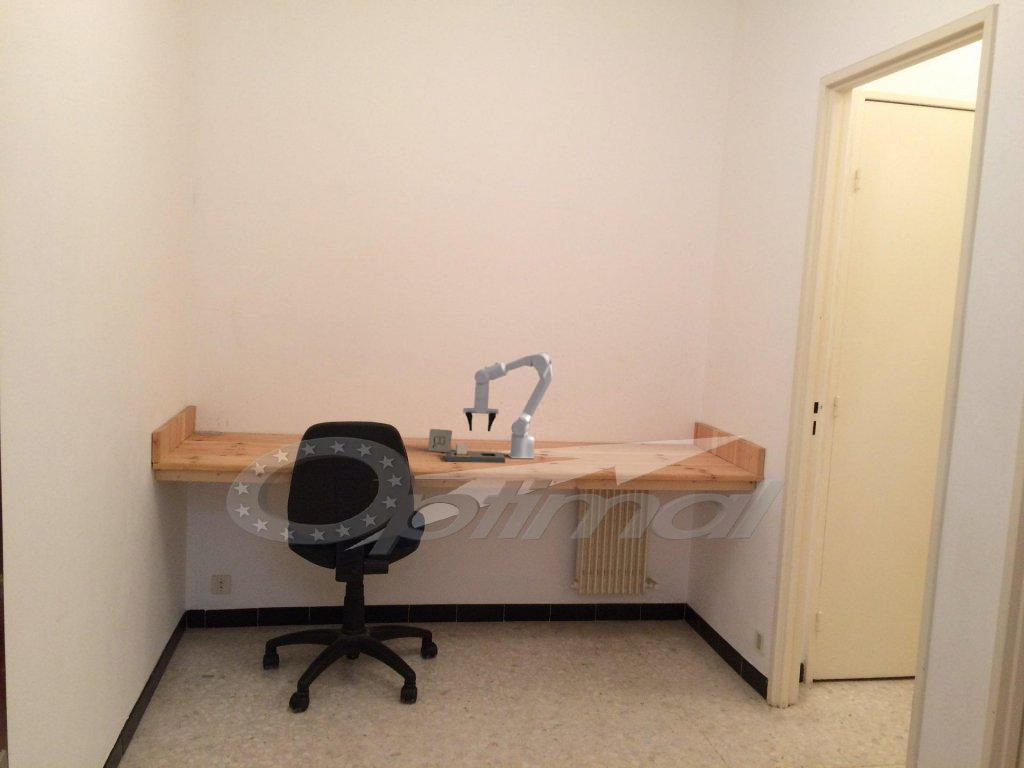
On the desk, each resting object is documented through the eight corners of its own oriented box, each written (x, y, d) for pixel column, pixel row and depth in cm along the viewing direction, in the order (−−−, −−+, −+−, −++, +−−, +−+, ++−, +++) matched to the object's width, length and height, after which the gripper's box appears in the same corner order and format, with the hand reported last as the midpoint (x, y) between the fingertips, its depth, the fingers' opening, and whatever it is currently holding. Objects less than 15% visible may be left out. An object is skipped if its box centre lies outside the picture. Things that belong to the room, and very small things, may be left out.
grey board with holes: (500, 457, 322) (501, 452, 322) (504, 462, 313) (505, 457, 312) (444, 456, 318) (444, 450, 318) (447, 461, 308) (447, 456, 308)
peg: (465, 458, 317) (465, 443, 316) (466, 460, 313) (467, 445, 312) (455, 458, 316) (456, 443, 315) (456, 460, 312) (457, 445, 311)
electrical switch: (427, 451, 326) (429, 429, 326) (429, 450, 331) (431, 428, 331) (449, 453, 325) (451, 430, 325) (451, 452, 331) (453, 429, 330)
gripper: (497, 397, 331) (495, 429, 333) (462, 396, 329) (461, 428, 330) (500, 399, 325) (498, 432, 326) (465, 398, 322) (463, 431, 323)
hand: (479, 430), depth 328 cm, fingers open, 7 cm apart
